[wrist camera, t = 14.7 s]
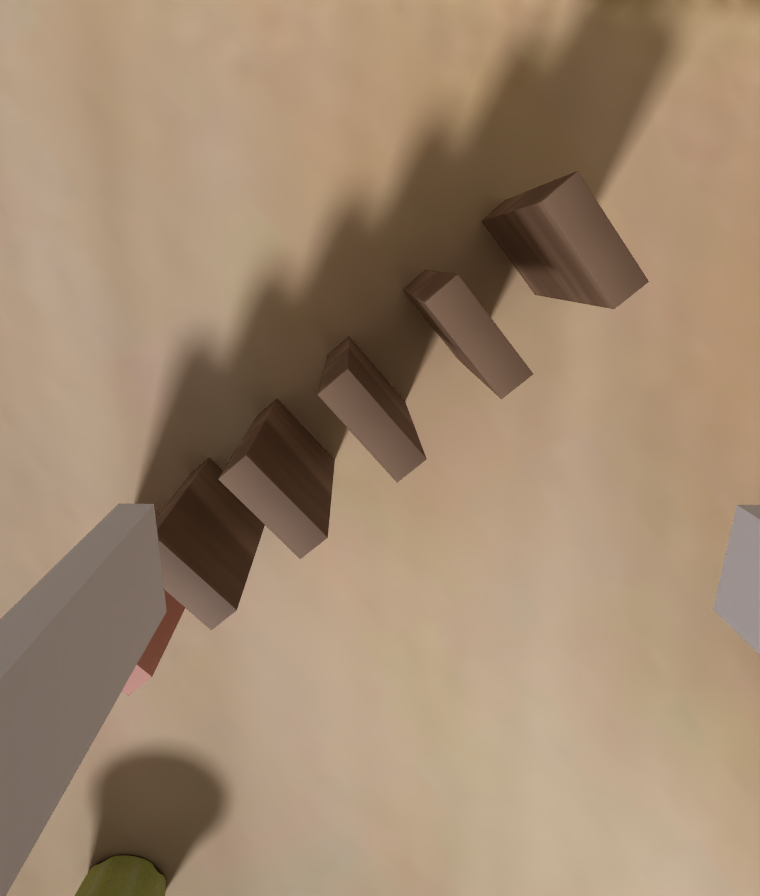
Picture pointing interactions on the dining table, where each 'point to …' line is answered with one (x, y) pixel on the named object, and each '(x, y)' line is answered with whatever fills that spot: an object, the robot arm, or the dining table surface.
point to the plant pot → (123, 878)
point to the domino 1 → (155, 645)
